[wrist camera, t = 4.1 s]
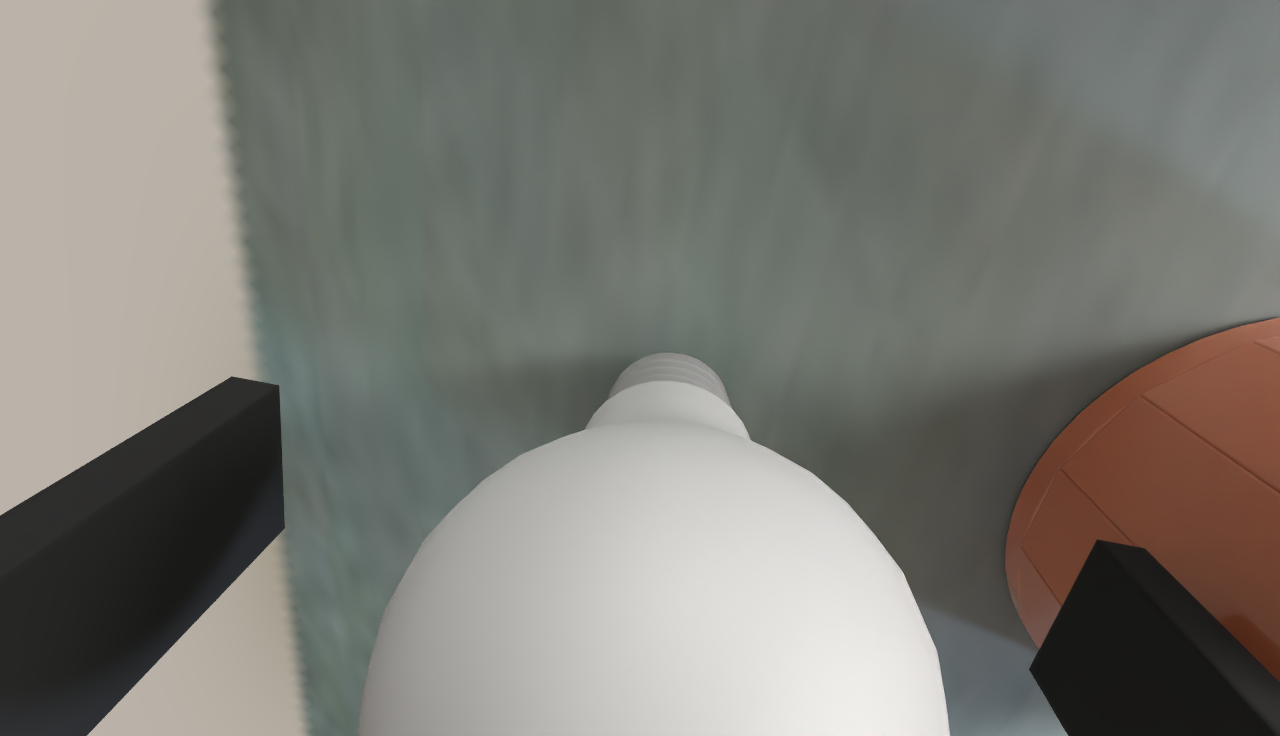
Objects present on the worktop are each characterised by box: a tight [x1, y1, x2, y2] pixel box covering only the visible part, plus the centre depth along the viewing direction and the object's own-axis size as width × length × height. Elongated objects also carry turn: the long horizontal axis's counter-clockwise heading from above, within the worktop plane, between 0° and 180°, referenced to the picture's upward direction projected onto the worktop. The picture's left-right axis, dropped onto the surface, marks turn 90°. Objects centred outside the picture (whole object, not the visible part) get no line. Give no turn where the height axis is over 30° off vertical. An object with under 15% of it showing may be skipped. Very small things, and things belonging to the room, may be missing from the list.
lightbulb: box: [358, 352, 950, 736], centre depth 10 cm, size 6×6×11 cm
